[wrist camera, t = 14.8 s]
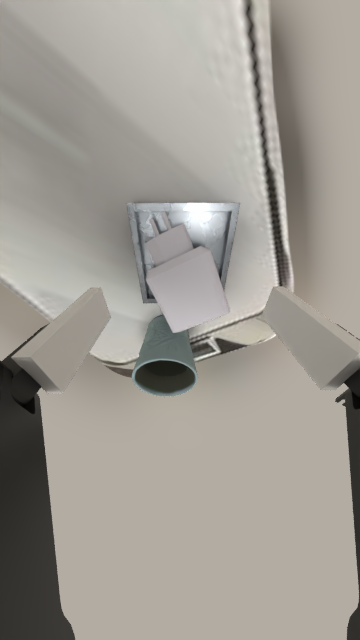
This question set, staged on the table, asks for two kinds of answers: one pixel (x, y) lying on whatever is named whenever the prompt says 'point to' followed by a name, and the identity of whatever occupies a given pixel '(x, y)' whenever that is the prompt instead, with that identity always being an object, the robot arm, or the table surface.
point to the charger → (184, 279)
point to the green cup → (165, 361)
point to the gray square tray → (202, 226)
